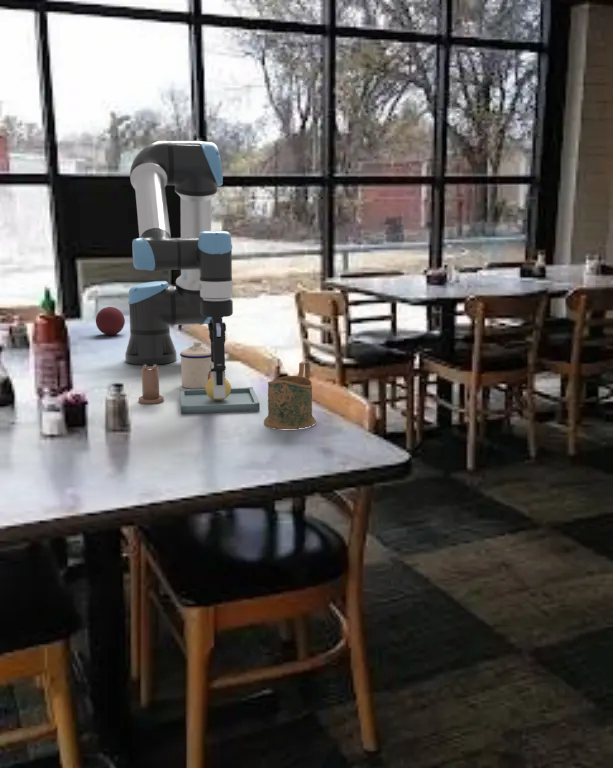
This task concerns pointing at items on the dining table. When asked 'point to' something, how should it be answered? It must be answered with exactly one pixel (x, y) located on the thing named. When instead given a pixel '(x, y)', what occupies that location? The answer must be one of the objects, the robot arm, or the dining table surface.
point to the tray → (202, 403)
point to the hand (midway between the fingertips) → (218, 393)
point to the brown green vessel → (290, 401)
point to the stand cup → (150, 386)
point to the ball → (211, 390)
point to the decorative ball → (110, 320)
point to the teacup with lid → (196, 366)
